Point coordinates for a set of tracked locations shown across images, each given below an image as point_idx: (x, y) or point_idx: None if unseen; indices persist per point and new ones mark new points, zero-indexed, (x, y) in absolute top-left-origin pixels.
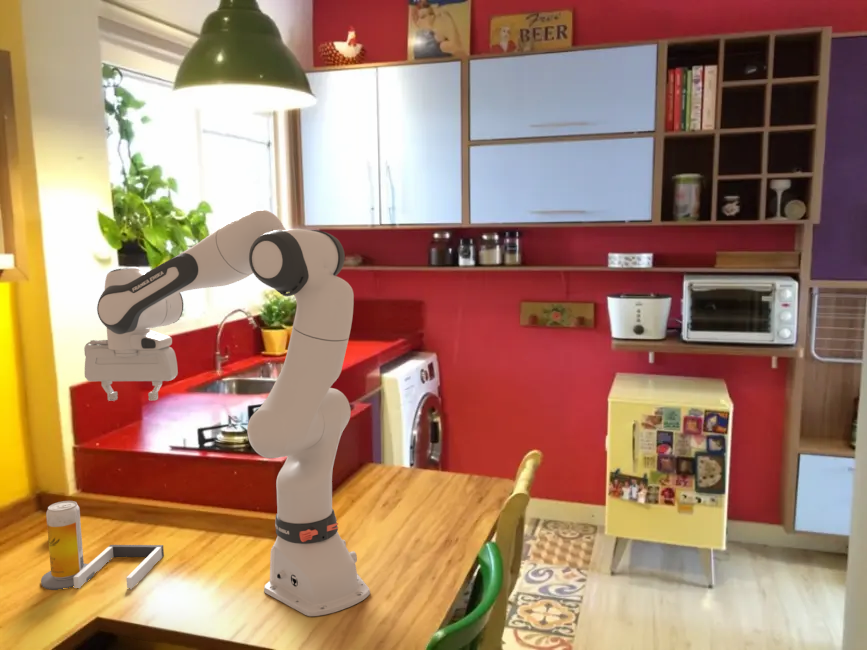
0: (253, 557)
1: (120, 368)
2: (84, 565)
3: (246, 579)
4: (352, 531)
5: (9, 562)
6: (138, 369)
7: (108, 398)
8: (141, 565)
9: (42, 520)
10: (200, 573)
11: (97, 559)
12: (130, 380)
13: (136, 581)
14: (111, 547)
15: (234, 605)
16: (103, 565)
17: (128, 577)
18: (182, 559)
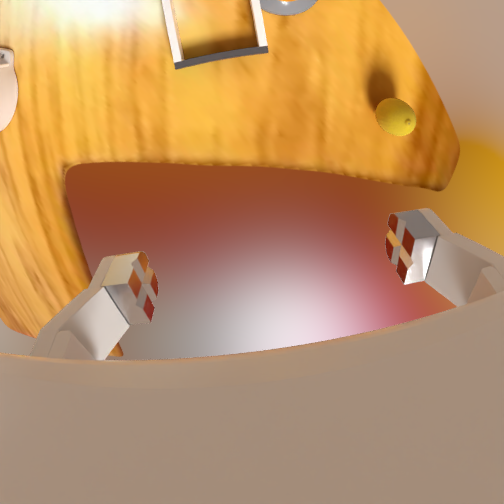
0: (59, 110)
1: (432, 488)
2: (279, 9)
3: (39, 61)
4: (16, 211)
5: (401, 32)
6: (113, 500)
7: (428, 212)
8: (165, 5)
9: (432, 163)
10: (95, 46)
11: (253, 4)
12: (254, 354)
13: None
14: (259, 43)
15: (27, 15)
16: (253, 19)
17: None
18: (143, 68)
